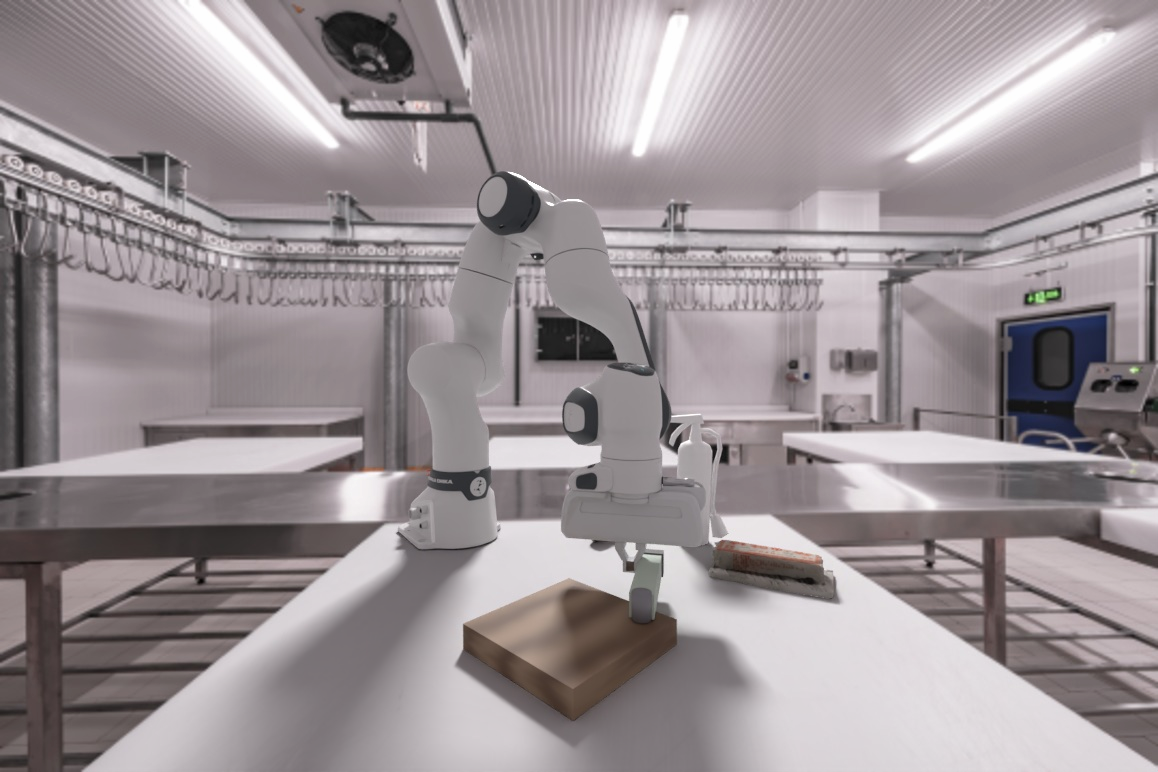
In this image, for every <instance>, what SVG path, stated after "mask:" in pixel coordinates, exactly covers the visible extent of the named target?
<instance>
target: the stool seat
mask: <svg viewBox="0 0 1158 772" xmlns="http://www.w3.org/2000/svg"><path fill="white" fill-rule="evenodd" d="M677 626H678V620H677V618H675V617H671V616H669V615H666V614H663V613H661V612H659V611H656V612H655V618H654V620H651V621H650V622H648V623H637V622H634V621H633V620H632V617H629V599H628V600H627V599H624V598H623V597H619V596H617V595H614V594H611V593H609V592H607V591H605V590H602V589H599V588H596V587H594V586H591V585H588V584H586V583H583V582H580V581H578V580H576V579H572V578H570V577H568V578H567V579H564V580H561V581H560V582H557V583H555V584H552V585H550V586H548V587H545V588H543V589H540V590H539V591H536V592H534V593H531V594H529V595H527V596H524V597H522V598H520V599H517V600H515V601H513V602H510V603H508V604H506V605H504V606H501V607H499V608H496V609H494V610H492V611H490V612H486V613H485V614H482V615H480V616H478V617H476V618H473V619H470V620H468V621H466V622H464V623H462V646H463V647H462V648H463V650H464V651H466V652H467V653H469V654H470V655H472V656H474V657H475V658H476V659H478V660H479V661H481V662H482V663H483V664H486V665H487V666H489V667H490V668H492V669H494V670H495V671H496V672H497V673H500V674H501V675H502V676H505V678H507V679H509V680H510V681H511V682H512V683H515V684H516V685H517V686H519V687H521V688H522V689H524V690H525V691H527V692H528V693H530V694H532V696H535V698H537V699H539V700H540V701H542V702H544V703H545V704H547V705H548V706H550V707H551V708H552V709H554V710H556V711H557V712H559V713H560V714H561V715H563V716H565V717H567V718H568V719H569V720H571V721H573V722H574V721H575V720H577V719H578V718H579V717H581V716H583V714H584V713H586V712H587V711H588V710H590V709H591V708H593V707H594V706H596V705H597V704H598V703H599V702H601V701H602V700H604V699H605V698H606V697H607V696H609V695H610V694H611V693H613V692H615V690H617V689H619V688H620V687H621V686H623V684H625V683H626V682H628V681H629V680H630V679H632V678H633V677H635V676H636V675H637V674H639V673H640V672H641V671H643V670H645V668H647V667H649V666H650V665H651V664H652V663H654V662H655V661H656V660H657V659H659V658H660V657H663V655H664V654H666V653H667V652H668V651H670V650H671V649H672V648H674V647H675V646H676V645H678V643H677V642H678V628H677Z"/></svg>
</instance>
